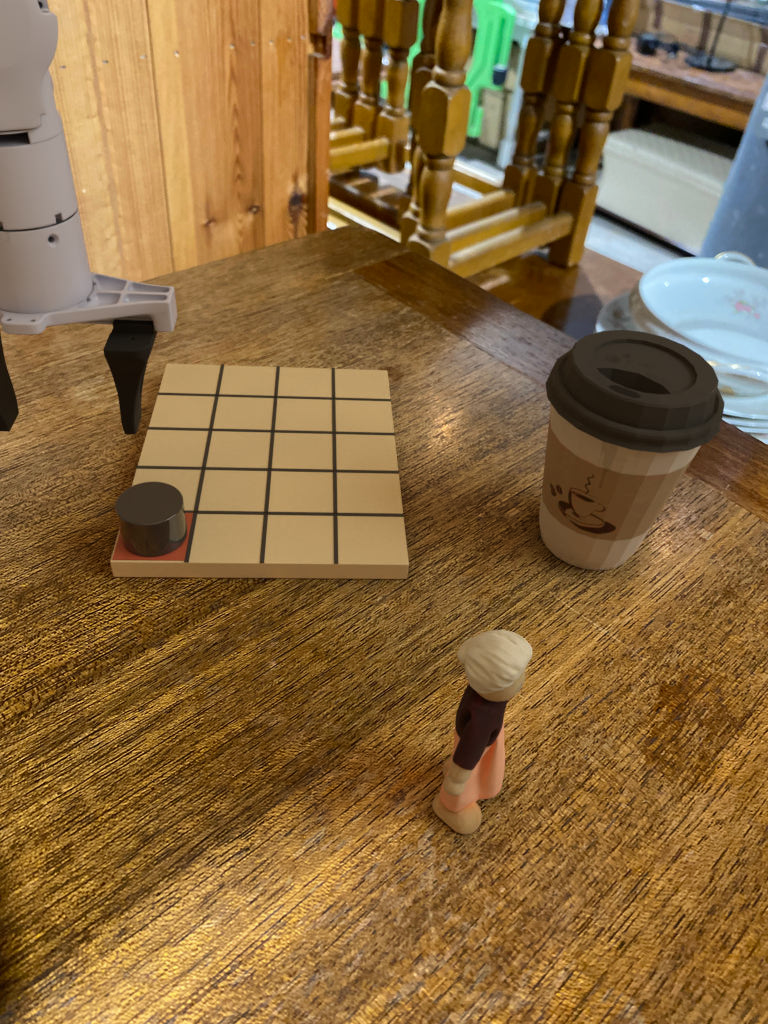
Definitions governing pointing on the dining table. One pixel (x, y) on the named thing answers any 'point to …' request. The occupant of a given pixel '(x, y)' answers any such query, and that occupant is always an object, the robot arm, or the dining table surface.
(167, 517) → the dark grey cylinder
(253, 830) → the dining table surface
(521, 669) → the grandmother figurine
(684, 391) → the coffee cup
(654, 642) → the dining table surface
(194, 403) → the board
